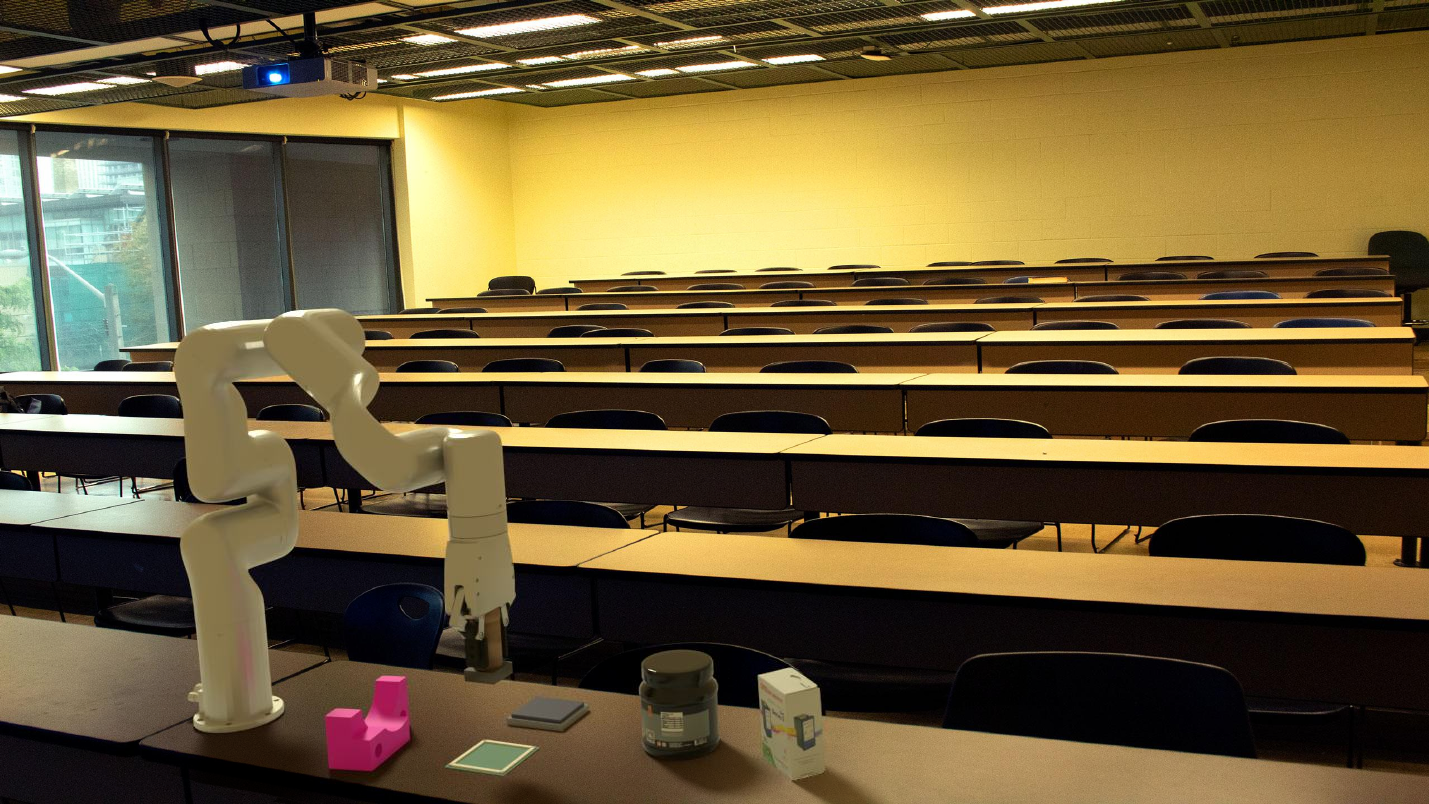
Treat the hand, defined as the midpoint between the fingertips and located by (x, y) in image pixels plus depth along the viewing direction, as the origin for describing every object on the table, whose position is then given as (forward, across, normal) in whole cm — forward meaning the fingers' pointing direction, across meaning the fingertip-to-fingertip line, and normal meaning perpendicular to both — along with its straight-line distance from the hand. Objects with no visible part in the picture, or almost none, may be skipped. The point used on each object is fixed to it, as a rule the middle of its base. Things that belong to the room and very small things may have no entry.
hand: (487, 660), depth 149 cm
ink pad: (+14, -14, 0) cm, 20 cm away
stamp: (+2, 0, 0) cm, 2 cm away
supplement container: (+14, -11, +22) cm, 29 cm away
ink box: (+14, -9, +39) cm, 42 cm away
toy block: (+14, +1, -18) cm, 23 cm away
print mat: (+14, 0, 0) cm, 14 cm away
